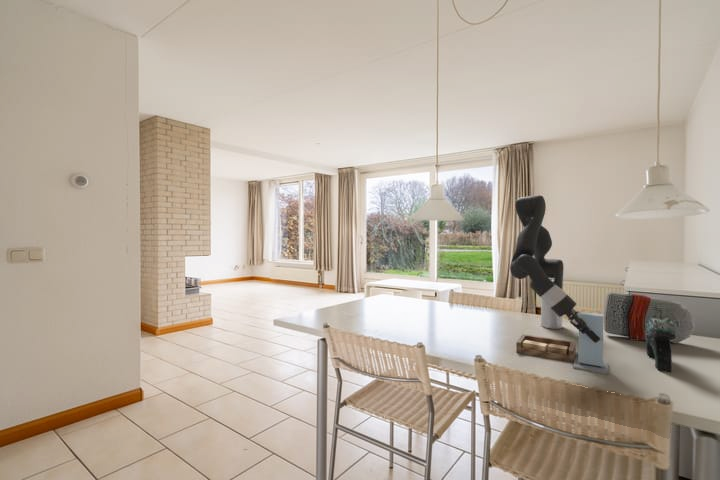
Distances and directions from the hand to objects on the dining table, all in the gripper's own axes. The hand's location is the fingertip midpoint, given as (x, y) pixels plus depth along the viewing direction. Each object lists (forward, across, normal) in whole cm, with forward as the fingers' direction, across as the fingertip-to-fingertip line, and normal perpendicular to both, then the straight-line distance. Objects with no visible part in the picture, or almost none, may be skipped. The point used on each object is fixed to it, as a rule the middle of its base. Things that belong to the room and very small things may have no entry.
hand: (597, 339), depth 121 cm
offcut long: (-7, +5, +21) cm, 23 cm away
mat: (+6, 0, +8) cm, 10 cm away
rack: (-5, +8, +19) cm, 21 cm away
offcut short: (-2, +5, +16) cm, 17 cm away
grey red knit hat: (+19, +48, -5) cm, 52 cm away
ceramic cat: (+19, +16, -5) cm, 26 cm away
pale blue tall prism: (+5, 0, +8) cm, 9 cm away
